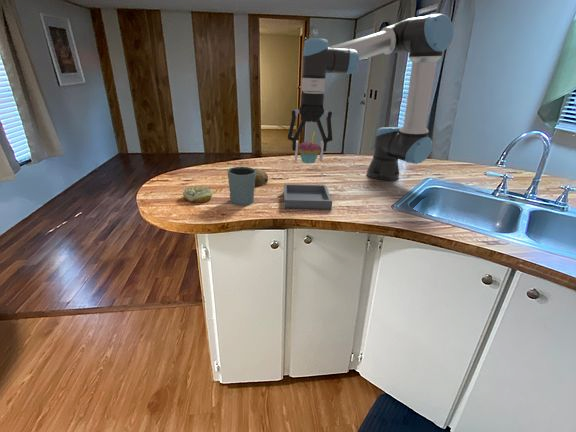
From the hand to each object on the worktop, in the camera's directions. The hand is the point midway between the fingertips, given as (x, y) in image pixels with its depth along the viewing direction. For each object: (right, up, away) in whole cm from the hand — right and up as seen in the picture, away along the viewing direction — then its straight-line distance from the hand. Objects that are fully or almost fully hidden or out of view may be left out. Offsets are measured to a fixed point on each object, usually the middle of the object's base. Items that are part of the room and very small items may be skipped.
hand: (308, 159), depth 111 cm
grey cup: (-24, -15, +4) cm, 29 cm away
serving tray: (0, -14, +7) cm, 16 cm away
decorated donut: (-41, -14, +6) cm, 44 cm away
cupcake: (0, -1, 0) cm, 1 cm away
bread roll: (-22, -6, +24) cm, 33 cm away
